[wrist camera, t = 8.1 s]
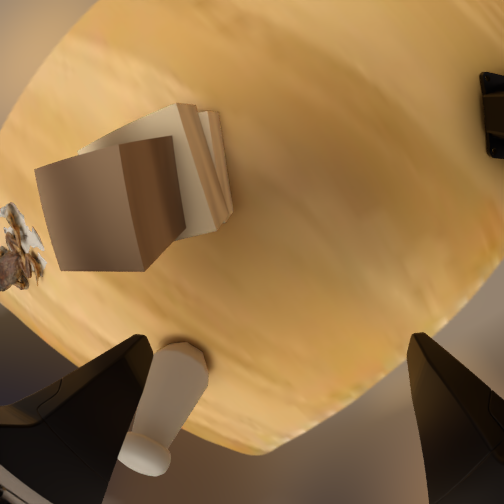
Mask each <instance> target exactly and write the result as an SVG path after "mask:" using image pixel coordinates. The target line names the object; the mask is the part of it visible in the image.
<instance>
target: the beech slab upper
mask: <svg viewBox="0 0 504 504" xmlns="http://www.w3.org/2000/svg"><path fill="white" fill-rule="evenodd" d="M171 135H172V138H173V146H174V153H175V160H176V167H177V174H178V181H179V187H180V194H181V200H182V206H183V212H184V218H185V224H186V229H185V230H184V231H183V232H182V233H181V234H180V235H179V236H178V237H177V238H176V239H175V240H174V241H176V240H180V239H185V238H189V237H193V236H197V235H201V234H206V233H210V232H214V231H217V230H218V229H219V227H220V226H221V224H222V223H223V222H224V220H225V219H226V218H227V216H228V215H229V211H228V208H227V205H226V202H225V198H224V195H223V192H222V189H221V186H220V182H219V179H218V176H217V173H216V170H215V166H214V163H213V160H212V157H211V153H210V150H209V147H208V144H207V141H206V137H205V134H204V131H203V128H202V124H201V121H200V118H199V114H198V111H197V108H196V105H191V104H182V103H174V104H172V105H169V106H167V107H165V108H162V109H160V110H158V111H155V112H153V113H151V114H148V115H146V116H144V117H142V118H140V119H137V120H135V121H133V122H131V123H129V124H127V125H125V126H123V127H121V128H119V129H117V130H115V131H113V132H111V133H109V134H107V135H105V136H103V137H101V138H100V139H98V140H96V141H94V142H92V143H90V144H89V145H87V146H85V147H83V148H82V149H80V150H78V151H77V152H78V155H81V154H84V153H88V152H92V151H95V150H99V149H103V148H107V147H111V146H115V145H119V144H124V143H129V142H135V141H140V140H146V139H152V138H158V137H164V136H171Z"/></svg>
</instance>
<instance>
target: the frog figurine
mask: <svg viewBox="0 0 504 504" xmlns="http://www.w3.org/2000/svg"><path fill="white" fill-rule="evenodd" d="M0 210H1V211H0V217H1V216H2V217H5V218H6V219H7V221H8V223H9V224H10V226H11V227H9V228H8V229H7V228H5V227H4V232H5V233H6V243H7V246H8V248H9V249H10V251H7V250H6V249H5V248H4V247H3V246H1V247H0V291H5V290H7V289H9V288H10V287H11V285H12V284H13V285H15V286H16V287H18V288H20V290H23V289H28V288H29V283H28V281H27V279H26V278H25V277H24V276H23V275H22V276H21V282H19V281H18V278H19V276H20V273H21V270H23V272H24V274H25V275H26V277H27V278H31V277H32V271H34V272H35V274H36V281H37V286H38V278H39V277H40V276H42V277H43V270H44V268H45V266H46V264H47V262H46V261H45V260H44V258H42V257H41V256H40V253H39V252H38V257H37V259H36V260H35V259H34V258H33V257H32V256H31V255H30V254H29V248H30V246H32V247H33V248H35V247H38V248H39V249H40V250H42V251H45V250H44V247H43V244H42V242H41V239H40V237H39V235H38V234H37V232H36V231H35V229H34V228H33V227H32V232H31V231H30V230H29V228H28V226H26V225H25V220H24V216H23V215H22V214H21V213H20V211H19V210H18V209H17V207H16V205H15V204H14V203H12V202H10V203H8V204H6V206H4V207H2V208H1V209H0Z"/></svg>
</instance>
